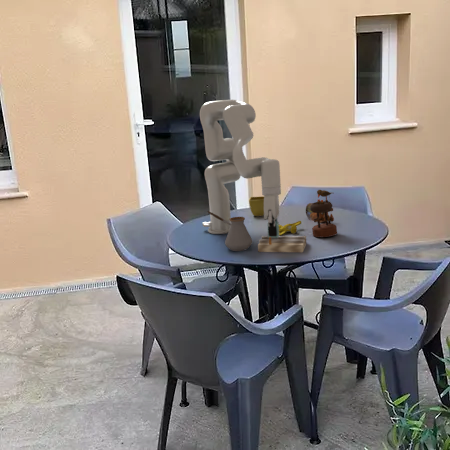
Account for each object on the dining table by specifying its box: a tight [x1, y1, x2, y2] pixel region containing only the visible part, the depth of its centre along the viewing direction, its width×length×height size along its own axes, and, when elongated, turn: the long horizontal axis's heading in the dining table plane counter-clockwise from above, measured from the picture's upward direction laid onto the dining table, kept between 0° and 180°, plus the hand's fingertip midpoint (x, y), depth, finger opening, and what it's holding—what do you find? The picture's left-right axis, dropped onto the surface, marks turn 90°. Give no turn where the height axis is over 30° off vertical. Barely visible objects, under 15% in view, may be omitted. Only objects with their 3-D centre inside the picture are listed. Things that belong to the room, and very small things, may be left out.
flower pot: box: [248, 195, 264, 217], centre depth 272 cm, size 9×9×9 cm
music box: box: [310, 189, 338, 238], centre depth 227 cm, size 15×11×20 cm
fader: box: [267, 221, 280, 239], centre depth 216 cm, size 4×3×7 cm
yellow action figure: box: [279, 220, 302, 236], centre depth 239 cm, size 19×4×15 cm
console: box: [257, 235, 307, 253], centre depth 216 cm, size 18×12×6 cm, turn 75°
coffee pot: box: [206, 210, 253, 252], centre depth 221 cm, size 21×12×15 cm, turn 55°
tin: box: [305, 202, 329, 224], centre depth 253 cm, size 15×3×8 cm, turn 27°
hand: (273, 234), depth 216 cm, fingers closed on fader, 3 cm apart
